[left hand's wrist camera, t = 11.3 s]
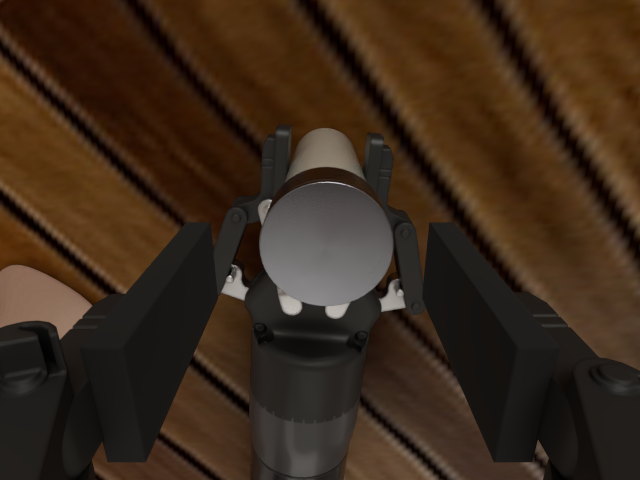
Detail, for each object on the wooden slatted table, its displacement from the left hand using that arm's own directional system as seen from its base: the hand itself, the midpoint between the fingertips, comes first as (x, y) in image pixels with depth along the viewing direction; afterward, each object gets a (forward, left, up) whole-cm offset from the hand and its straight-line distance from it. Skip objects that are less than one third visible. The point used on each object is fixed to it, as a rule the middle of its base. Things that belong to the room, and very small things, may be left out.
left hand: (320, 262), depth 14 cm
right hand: (+2, -2, -11) cm, 11 cm away
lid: (0, 0, -2) cm, 2 cm away
